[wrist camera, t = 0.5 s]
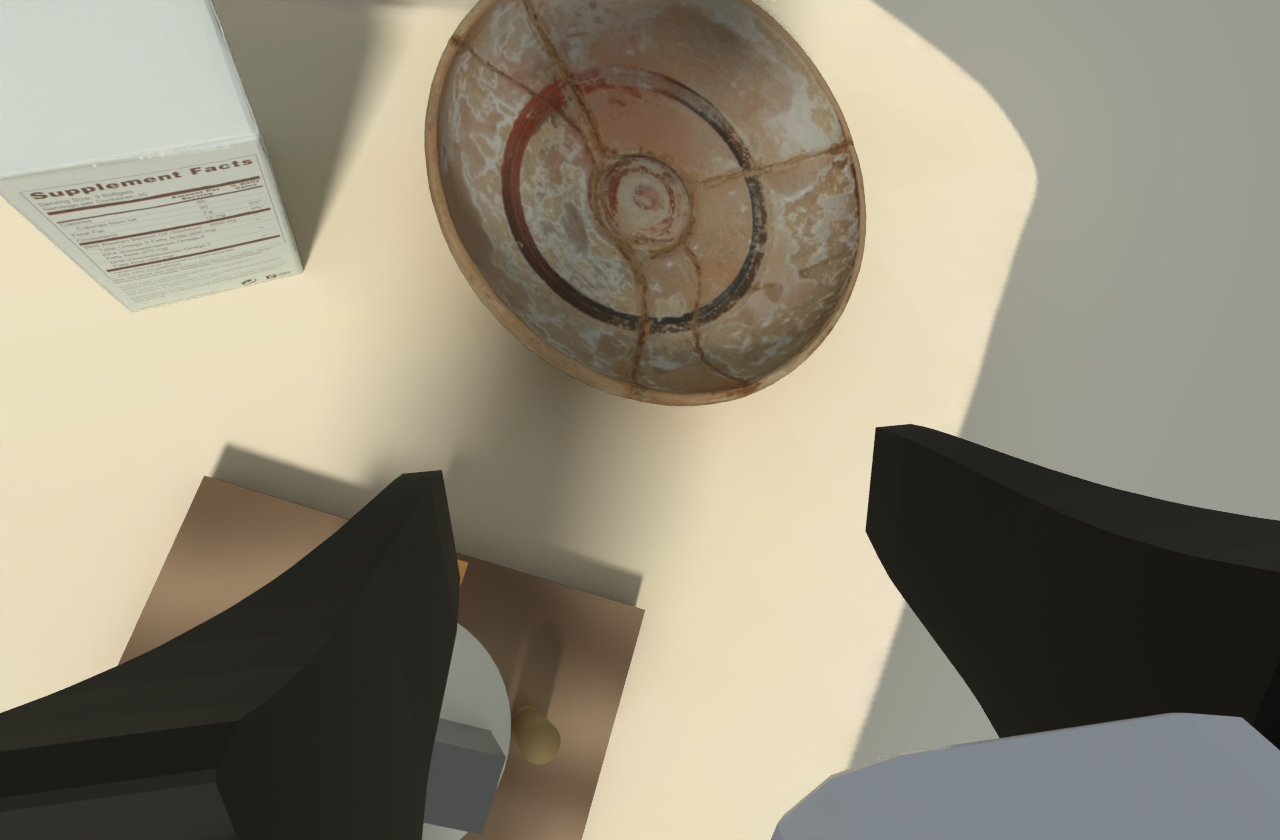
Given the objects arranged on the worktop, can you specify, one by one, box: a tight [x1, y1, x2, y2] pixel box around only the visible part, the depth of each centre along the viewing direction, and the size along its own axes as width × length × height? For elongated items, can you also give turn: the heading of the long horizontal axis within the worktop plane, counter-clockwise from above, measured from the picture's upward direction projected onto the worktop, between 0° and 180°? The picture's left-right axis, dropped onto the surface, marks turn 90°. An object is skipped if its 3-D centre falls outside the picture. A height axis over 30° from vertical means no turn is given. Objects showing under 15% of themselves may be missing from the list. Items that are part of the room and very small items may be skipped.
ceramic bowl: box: [425, 0, 866, 406], centre depth 38 cm, size 23×24×5 cm
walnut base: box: [118, 476, 645, 840], centre depth 30 cm, size 15×20×5 cm
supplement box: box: [0, 0, 303, 312], centre depth 27 cm, size 7×7×13 cm
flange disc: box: [422, 559, 511, 840], centre depth 27 cm, size 12×10×5 cm
